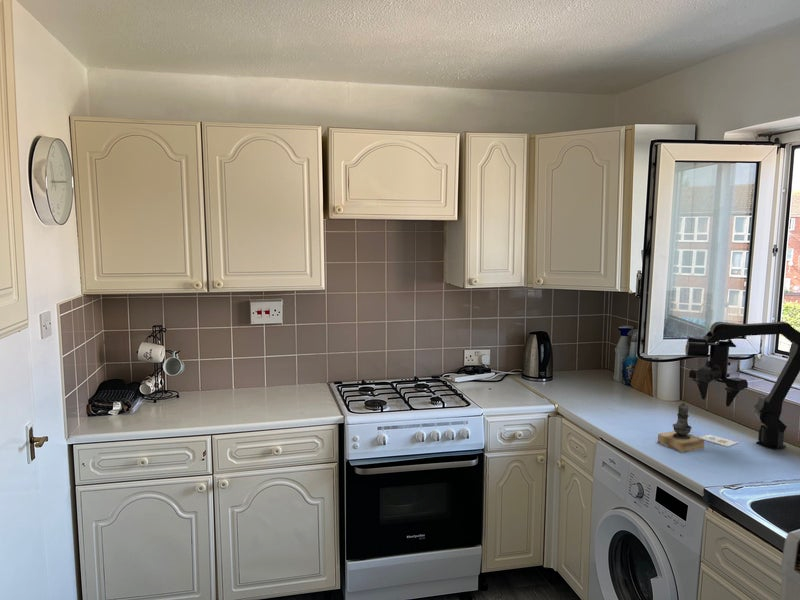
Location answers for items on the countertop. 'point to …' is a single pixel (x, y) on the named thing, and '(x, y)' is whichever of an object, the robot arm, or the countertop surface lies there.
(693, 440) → the base brick
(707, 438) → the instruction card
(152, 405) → the countertop surface
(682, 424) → the weathered stone finial
